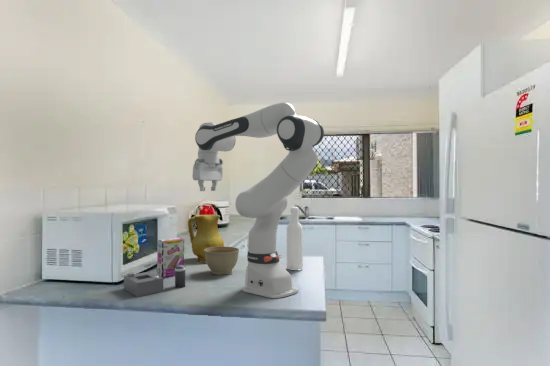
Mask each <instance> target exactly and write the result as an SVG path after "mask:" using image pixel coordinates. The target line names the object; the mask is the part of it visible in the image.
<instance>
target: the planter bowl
mask: <svg viewBox="0 0 550 366" xmlns="http://www.w3.org/2000/svg"><path fill="white" fill-rule="evenodd" d="M204 253H205V260H206V262H205V263H206V264H207V267H208V268H209V270H210V273H211V274H213V275H221V276H222V275H223V276H224V275H229V274H231V273H232V272H233V270H234V268H235V266H236V264H237V263H238V259H239V254H240V249H239V248H238V247H234V246H224V247H211V248H206V249H204Z"/></svg>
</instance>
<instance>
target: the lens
mask: <svg viewBox="0 0 550 366" xmlns="http://www.w3.org/2000/svg"><path fill="white" fill-rule="evenodd" d="M185 287H186V265H185V264H184V265H178V266H175V276H174V288H176V289H180V288H185Z"/></svg>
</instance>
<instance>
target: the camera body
mask: <svg viewBox="0 0 550 366" xmlns="http://www.w3.org/2000/svg"><path fill="white" fill-rule="evenodd" d="M123 289H124V290H125V291H127V292H129V293H130V294H132V295H133V296H135V297H137V298H139V297H143V296H147V295H152V294H157V293H162V292H164V278H161V277H159V276H157V274H155V273H152V272H151V271H145V272H140V273H133V272H127V275H123Z"/></svg>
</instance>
